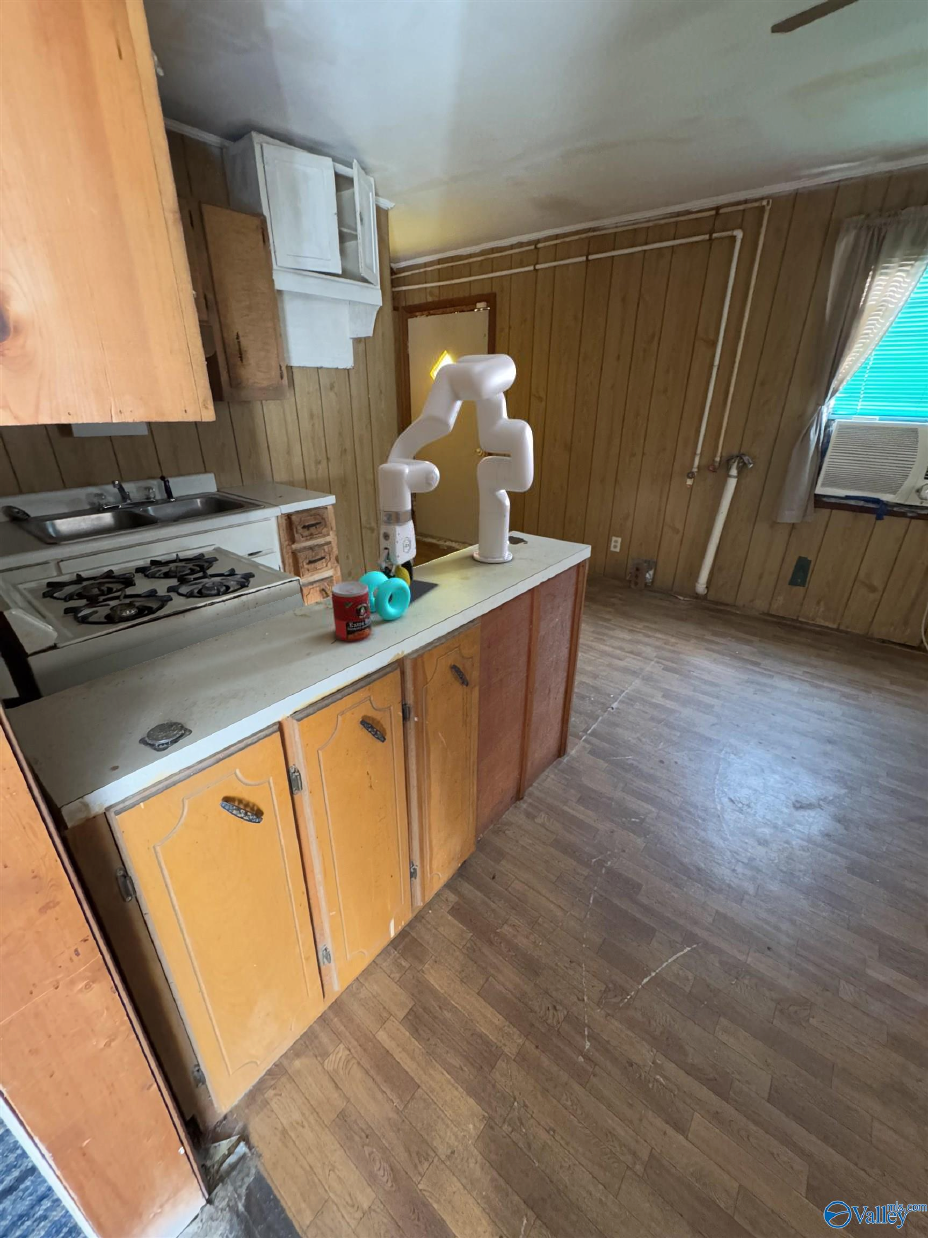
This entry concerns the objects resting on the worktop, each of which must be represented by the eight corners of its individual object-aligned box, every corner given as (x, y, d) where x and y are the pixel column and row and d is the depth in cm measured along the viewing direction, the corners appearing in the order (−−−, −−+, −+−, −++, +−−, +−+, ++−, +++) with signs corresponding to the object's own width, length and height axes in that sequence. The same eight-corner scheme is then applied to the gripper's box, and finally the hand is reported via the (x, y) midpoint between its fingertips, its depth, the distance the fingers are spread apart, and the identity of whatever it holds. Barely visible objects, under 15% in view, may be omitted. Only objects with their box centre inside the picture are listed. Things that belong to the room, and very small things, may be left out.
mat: (406, 579, 143) (406, 578, 143) (437, 585, 139) (437, 583, 139) (370, 600, 128) (370, 599, 128) (404, 607, 124) (404, 606, 124)
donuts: (385, 603, 127) (383, 565, 123) (413, 614, 121) (412, 574, 117) (354, 615, 120) (350, 575, 116) (381, 627, 114) (379, 585, 110)
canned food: (350, 645, 105) (345, 596, 101) (328, 634, 110) (323, 587, 106) (379, 634, 110) (375, 587, 106) (357, 623, 115) (353, 578, 111)
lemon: (412, 591, 133) (411, 562, 130) (408, 599, 128) (406, 569, 125) (391, 590, 134) (390, 561, 131) (386, 598, 129) (385, 568, 126)
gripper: (389, 525, 114) (393, 597, 121) (426, 511, 129) (428, 576, 136) (362, 521, 117) (367, 592, 124) (401, 508, 131) (404, 572, 139)
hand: (399, 583), depth 130 cm, fingers open, 7 cm apart
